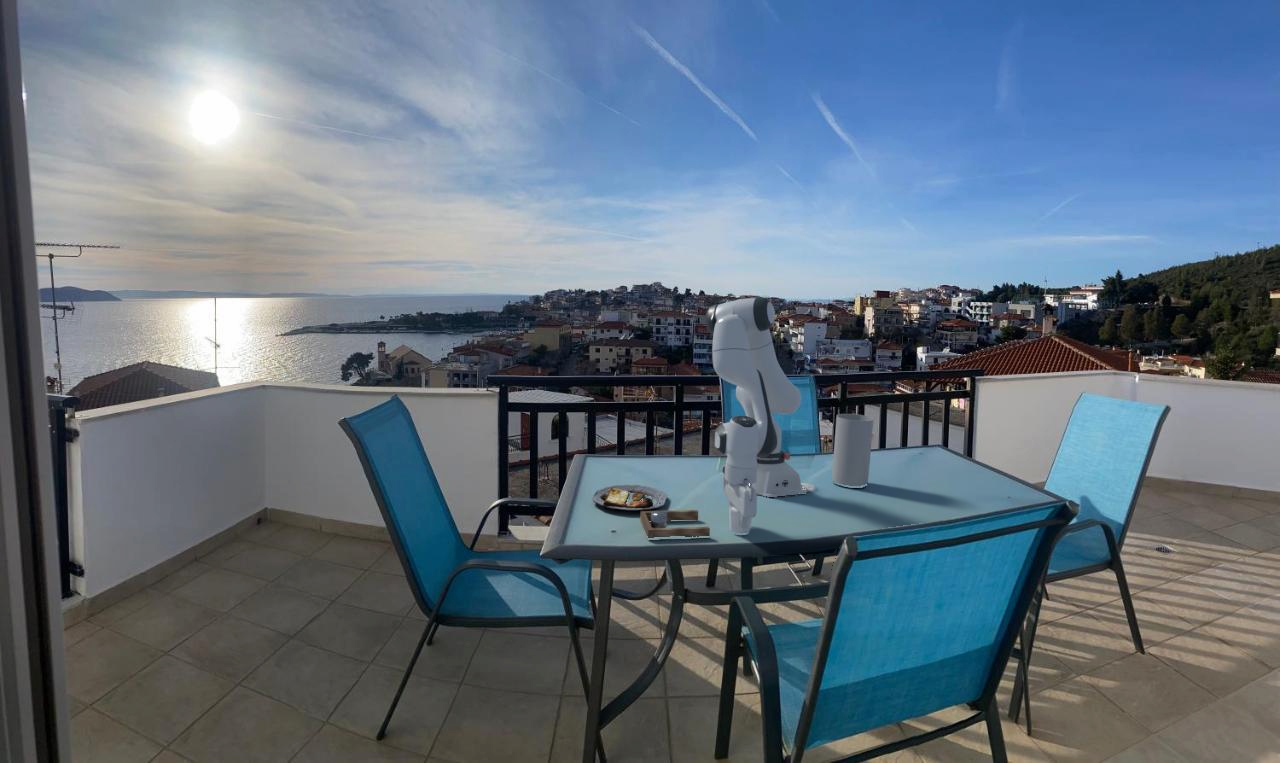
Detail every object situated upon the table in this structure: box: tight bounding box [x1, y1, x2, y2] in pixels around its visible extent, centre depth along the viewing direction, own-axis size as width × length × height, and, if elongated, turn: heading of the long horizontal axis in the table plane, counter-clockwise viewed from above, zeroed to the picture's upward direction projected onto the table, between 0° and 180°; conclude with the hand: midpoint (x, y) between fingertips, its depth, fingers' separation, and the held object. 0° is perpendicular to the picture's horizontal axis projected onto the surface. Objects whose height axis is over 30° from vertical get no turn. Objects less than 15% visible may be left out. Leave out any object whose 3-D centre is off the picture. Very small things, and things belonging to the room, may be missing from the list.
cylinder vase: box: [831, 413, 874, 486], centre depth 217 cm, size 12×12×25 cm
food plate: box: [591, 484, 668, 512], centre depth 193 cm, size 25×23×4 cm
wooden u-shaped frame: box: [639, 509, 711, 538], centre depth 170 cm, size 17×14×3 cm
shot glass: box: [728, 505, 753, 534], centre depth 170 cm, size 7×7×7 cm
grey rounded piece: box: [650, 510, 668, 528], centre depth 170 cm, size 5×5×5 cm
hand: (738, 521), depth 170 cm, fingers open, 8 cm apart
